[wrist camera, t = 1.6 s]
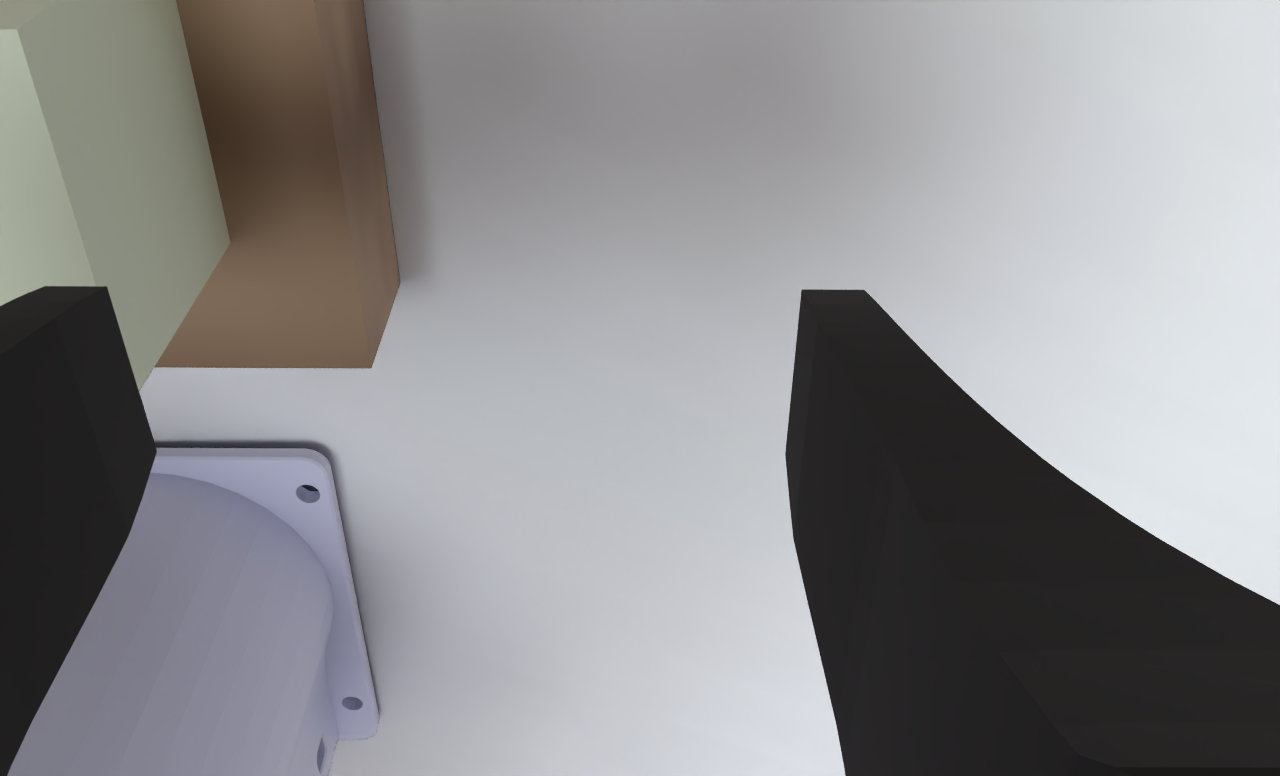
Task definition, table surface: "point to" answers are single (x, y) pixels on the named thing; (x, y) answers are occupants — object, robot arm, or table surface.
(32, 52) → the green block
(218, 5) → the brown wooden long tray
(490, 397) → the table surface
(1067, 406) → the table surface
